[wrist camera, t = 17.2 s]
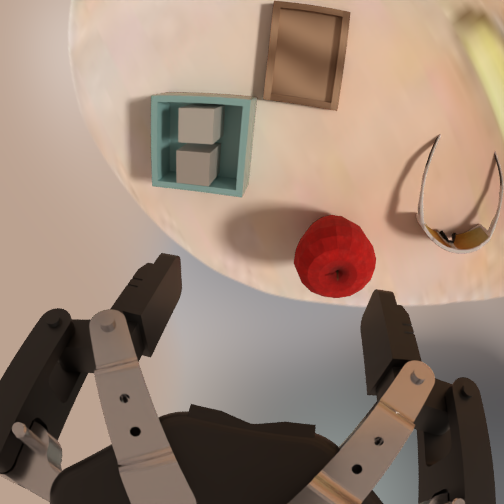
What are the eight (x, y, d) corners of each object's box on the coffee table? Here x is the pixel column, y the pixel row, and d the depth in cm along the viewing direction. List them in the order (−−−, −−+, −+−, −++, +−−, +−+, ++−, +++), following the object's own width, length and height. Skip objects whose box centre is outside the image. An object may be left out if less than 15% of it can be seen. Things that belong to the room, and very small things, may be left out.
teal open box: (167, 92, 34) (151, 95, 30) (257, 96, 33) (251, 99, 30) (166, 174, 41) (152, 186, 37) (248, 184, 40) (242, 197, 36)
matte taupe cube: (193, 103, 34) (178, 107, 30) (225, 104, 34) (214, 109, 30) (192, 133, 36) (178, 142, 32) (223, 135, 36) (212, 144, 32)
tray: (274, 3, 26) (274, 0, 25) (348, 14, 26) (350, 12, 25) (264, 98, 33) (263, 99, 32) (336, 109, 33) (337, 110, 32)
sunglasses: (402, 234, 40) (413, 248, 35) (419, 129, 34) (434, 131, 29) (477, 245, 38) (492, 259, 34) (497, 152, 32) (515, 157, 27)
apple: (284, 243, 44) (277, 292, 35) (318, 188, 39) (322, 227, 29) (342, 272, 45) (348, 324, 36) (379, 223, 40) (398, 269, 31)
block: (191, 140, 37) (176, 150, 33) (221, 143, 37) (210, 153, 32) (190, 169, 39) (176, 182, 35) (219, 172, 39) (208, 186, 35)
